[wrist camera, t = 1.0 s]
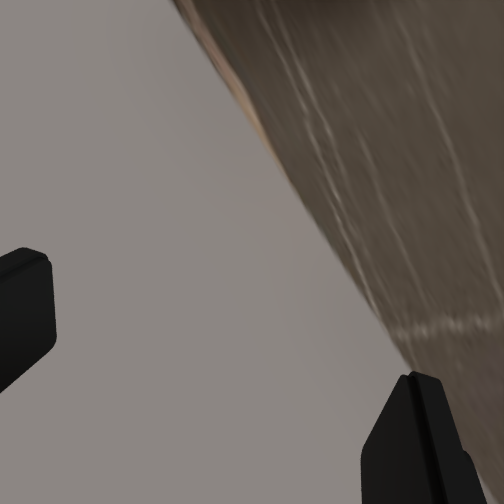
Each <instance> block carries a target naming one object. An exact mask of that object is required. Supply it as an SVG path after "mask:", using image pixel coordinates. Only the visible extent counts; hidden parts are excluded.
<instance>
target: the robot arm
mask: <svg viewBox="0 0 504 504" xmlns="http://www.w3.org/2000/svg"><path fill="white" fill-rule="evenodd" d="M56 338H57V334H56V319H55V304H54V290H53V275H52V265H51V262H50V261H49V260H48V257H47V256H46V254H43V253H41V252H38V251H35V250H32V249H29V248H23V247H22V248H18V249H17V250H14V251H12V252H10V253H8V254H5V255H3V256H1V257H0V393H1V392H2V391H4V390H5V389H6V388H7V387H8V386H9V385H11V384H12V383H13V382H14V381H15V380H16V379H18V378H19V377H20V376H21V375H22V374H23V373H25V372H26V371H27V370H28V369H29V368H30V367H32V366H33V365H34V364H35V363H36V362H37V361H39V360H40V359H41V358H42V357H43V356H44V355H46V354H47V353H48V352H49V351H50V350H51V349H52V348H53V346H54V344H55V342H56ZM361 487H362V488H361V491H362V504H487V502H486V499H485V496H484V493H483V490H482V487H481V484H480V481H479V478H478V475H477V472H476V469H475V466H474V463H473V461H472V459H471V457H470V455H469V454H468V453H467V452H466V451H464V450H463V448H462V445H461V442H460V439H459V436H458V433H457V429H456V426H455V423H454V420H453V417H452V414H451V411H450V408H449V405H448V401H447V398H446V395H445V392H444V389H443V386H442V383H441V381H440V380H439V379H437V378H434V377H431V376H428V375H425V374H421V373H418V372H415V371H412V372H411V373H410V374H409V375H408V376H407V375H401V376H400V378H399V379H398V381H397V383H396V385H395V387H394V389H393V391H392V393H391V395H390V396H389V398H388V401H387V402H386V404H385V406H384V408H383V410H382V412H381V414H380V416H379V418H378V419H377V421H376V423H375V425H374V427H373V429H372V431H371V433H370V435H369V437H368V439H367V440H366V443H365V444H364V446H363V449H362V454H361Z"/></svg>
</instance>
